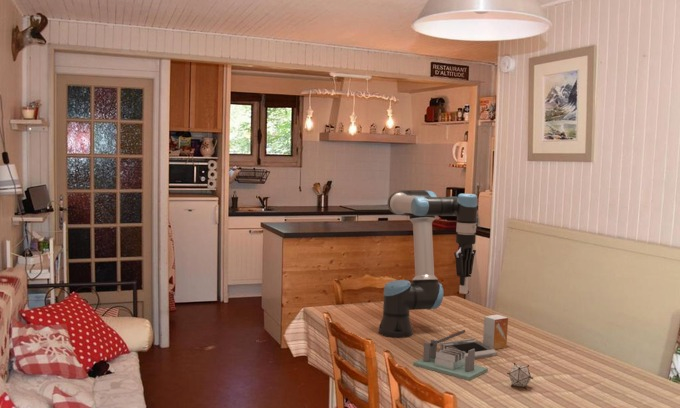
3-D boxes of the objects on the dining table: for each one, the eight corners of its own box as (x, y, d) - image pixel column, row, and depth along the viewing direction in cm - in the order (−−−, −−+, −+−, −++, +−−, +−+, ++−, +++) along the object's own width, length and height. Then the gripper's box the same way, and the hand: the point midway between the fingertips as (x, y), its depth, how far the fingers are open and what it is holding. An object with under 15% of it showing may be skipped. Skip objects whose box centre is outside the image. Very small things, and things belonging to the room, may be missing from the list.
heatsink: (434, 368, 250) (435, 351, 249) (447, 363, 257) (447, 346, 256) (453, 373, 245) (453, 356, 244) (465, 367, 252) (466, 351, 251)
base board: (413, 365, 253) (414, 342, 252) (432, 357, 264) (433, 335, 263) (469, 380, 238) (470, 355, 237) (487, 371, 248) (488, 347, 248)
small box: (493, 350, 276) (494, 319, 275) (482, 346, 281) (483, 316, 280) (507, 347, 280) (508, 317, 279) (495, 343, 285) (497, 314, 284)
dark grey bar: (427, 347, 255) (426, 343, 256) (432, 346, 257) (430, 342, 258) (461, 334, 245) (460, 330, 246) (465, 332, 248) (464, 328, 248)
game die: (513, 395, 234) (501, 368, 239) (535, 387, 235) (523, 360, 239) (516, 391, 226) (504, 363, 230) (540, 382, 227) (527, 355, 231)
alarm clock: (472, 338, 283) (498, 345, 268) (472, 349, 283) (498, 357, 268) (439, 342, 275) (464, 350, 260) (439, 353, 275) (464, 362, 260)
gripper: (466, 235, 251) (463, 297, 253) (482, 233, 261) (480, 292, 263) (448, 233, 256) (446, 294, 258) (466, 231, 266) (463, 289, 268)
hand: (463, 293), depth 261 cm, fingers closed
